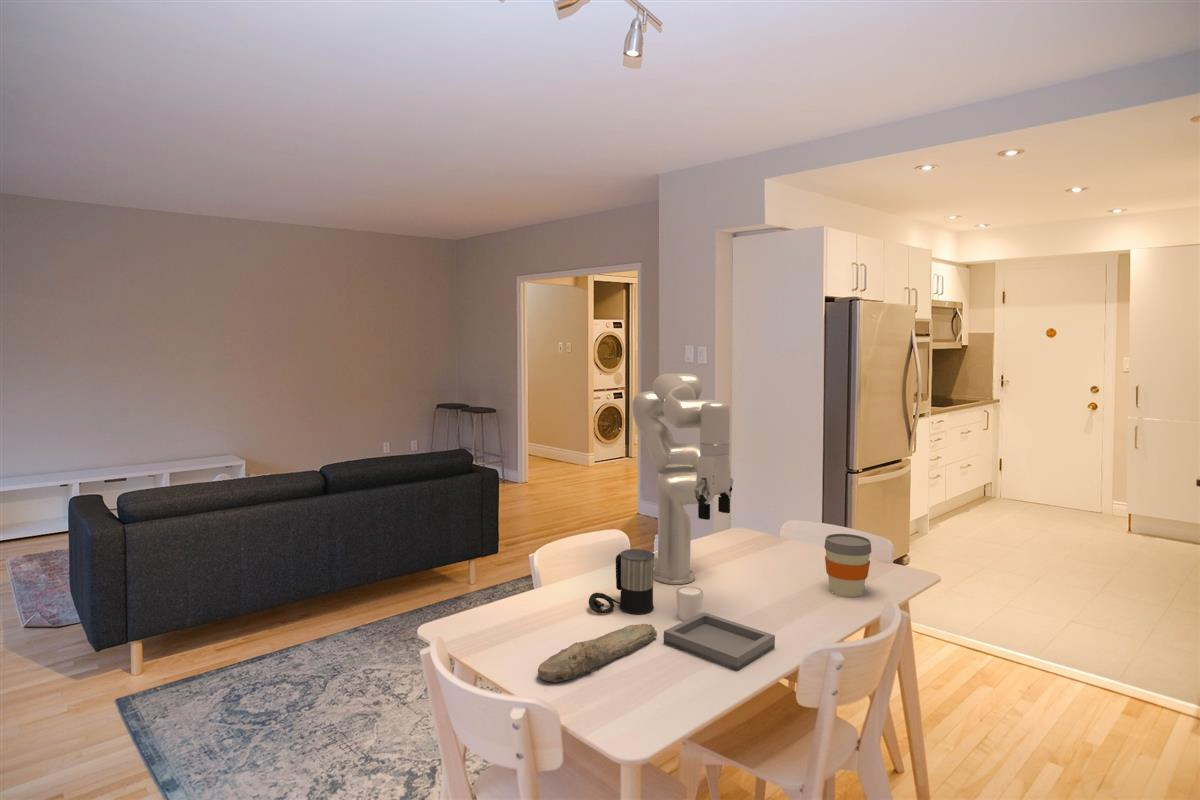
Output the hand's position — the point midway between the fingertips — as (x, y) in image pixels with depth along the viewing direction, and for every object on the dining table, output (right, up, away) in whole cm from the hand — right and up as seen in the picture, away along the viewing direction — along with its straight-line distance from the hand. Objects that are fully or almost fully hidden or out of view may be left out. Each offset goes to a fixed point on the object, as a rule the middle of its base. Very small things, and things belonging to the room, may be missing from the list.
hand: (714, 515), depth 184 cm
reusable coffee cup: (+40, -24, +17) cm, 50 cm away
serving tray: (-2, -27, -19) cm, 33 cm away
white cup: (-7, -26, -2) cm, 27 cm away
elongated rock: (-29, -28, -24) cm, 47 cm away
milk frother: (-24, -25, +3) cm, 35 cm away
